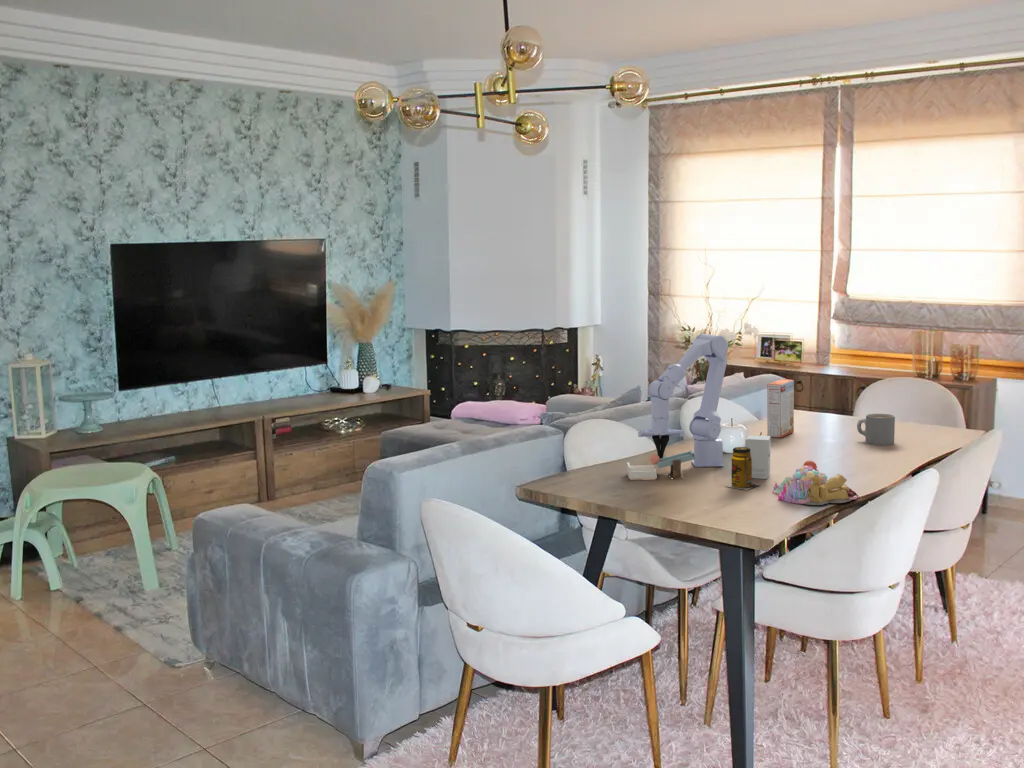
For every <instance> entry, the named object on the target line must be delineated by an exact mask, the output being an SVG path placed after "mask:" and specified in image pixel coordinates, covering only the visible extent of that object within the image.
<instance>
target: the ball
mask: <svg viewBox="0 0 1024 768" xmlns="http://www.w3.org/2000/svg"><path fill="white" fill-rule="evenodd" d="M659 461H660V458H659V456H658V454H652V455H651V456H650V457H649V462H650V463H651V465H657V463H658V462H659Z"/></svg>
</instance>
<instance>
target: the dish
mask: <svg viewBox="0 0 1024 768" xmlns="http://www.w3.org/2000/svg"><path fill="white" fill-rule="evenodd" d="M627 473H628V475H627V477H628V476H629V478H658V476H657V473H658V472H657V468H656V467H655V464H651V465H631V463H630V462H628V461H627V462H626V474H627ZM629 478H628V479H629Z"/></svg>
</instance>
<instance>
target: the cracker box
mask: <svg viewBox="0 0 1024 768" xmlns="http://www.w3.org/2000/svg"><path fill="white" fill-rule="evenodd" d="M794 384H795V380H794V379H786V378H784V379H777V380H775V381H773V382H769V383H767V384H766V389H767V390H766V393H767V394H766V397H767V399H766V401H767V403H766V405H767V406H766V407H767V408H766V410H767V411H766V413H767V415H766V418H767V421H766V422H767V427H766V429H767V435H766V436H771V438H775V439H776V438H778V439H782V438H783V437H786V436H788V435H790V434H793V433H794V430H795V429H794V428H795V425H794V424H795V421H794V419H795V417H794V416H795V415H794V414H795V412H794V411H795V407H794V406H795V405H794V403H795V397H794V395H795V390H794V389H795V385H794Z"/></svg>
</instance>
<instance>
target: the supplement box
mask: <svg viewBox="0 0 1024 768" xmlns="http://www.w3.org/2000/svg"><path fill="white" fill-rule="evenodd" d="M771 438H772V437H771V436H767V435H747V437H746V438H745V439H744V440H745V446H744V447H747V448H750V450H751V451H750V453H751V455H750V456H751V458H752V479H759V480H761V479H762V480H768V479H769V476H770V474H771V442H772V441H771Z"/></svg>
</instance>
